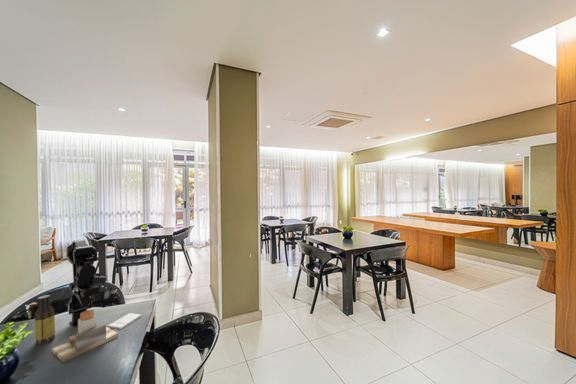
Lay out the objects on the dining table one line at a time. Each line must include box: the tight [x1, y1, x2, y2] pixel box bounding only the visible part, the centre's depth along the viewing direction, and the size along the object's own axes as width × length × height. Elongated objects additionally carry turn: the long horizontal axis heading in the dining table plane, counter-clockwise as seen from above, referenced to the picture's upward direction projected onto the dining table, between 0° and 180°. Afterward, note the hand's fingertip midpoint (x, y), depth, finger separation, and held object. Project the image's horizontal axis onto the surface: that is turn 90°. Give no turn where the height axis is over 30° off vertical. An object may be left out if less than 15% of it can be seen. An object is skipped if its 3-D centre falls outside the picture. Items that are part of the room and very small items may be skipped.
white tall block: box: [77, 309, 97, 334], centre depth 103 cm, size 5×5×12 cm
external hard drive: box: [106, 312, 143, 330], centre depth 121 cm, size 2×8×12 cm
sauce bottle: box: [34, 294, 56, 345], centre depth 105 cm, size 6×6×20 cm
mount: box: [52, 323, 119, 363], centre depth 103 cm, size 12×19×8 cm, turn 149°
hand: (84, 306), depth 110 cm, fingers closed
